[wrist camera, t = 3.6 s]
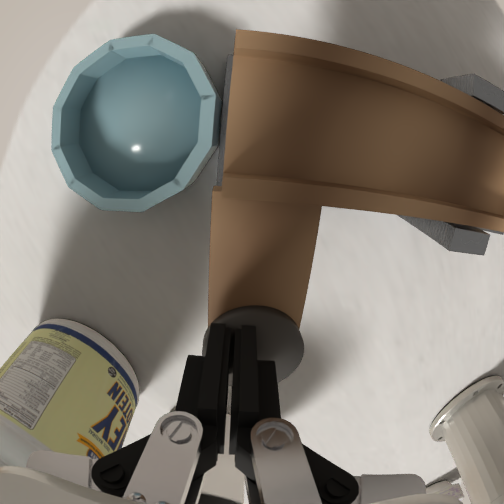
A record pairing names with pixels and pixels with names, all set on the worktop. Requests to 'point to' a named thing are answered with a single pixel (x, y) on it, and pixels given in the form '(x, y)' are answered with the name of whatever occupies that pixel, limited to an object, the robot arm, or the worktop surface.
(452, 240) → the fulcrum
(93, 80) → the dish
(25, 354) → the supplement tub
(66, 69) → the worktop surface
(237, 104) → the lever
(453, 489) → the paper bowls
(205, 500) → the jar
